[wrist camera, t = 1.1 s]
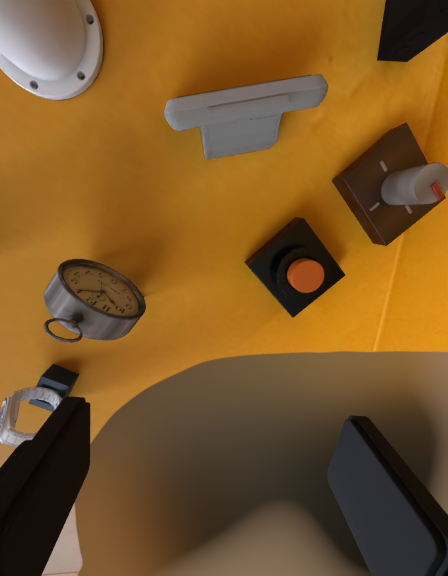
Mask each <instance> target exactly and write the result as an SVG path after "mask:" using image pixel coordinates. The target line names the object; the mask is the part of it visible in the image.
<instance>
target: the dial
mask: <svg viewBox="0 0 448 576" xmlns="http://www.w3.org/2000/svg"><path fill="white" fill-rule="evenodd" d="M447 189H448V169H447V168H446V167H445V166H444V165H443V164H440V163H431V164H426V165H422V166H417V167H412V168H408V169H403V170H399V171H395V172H393V173H391V174H389V175H388V176H387V177H386V179H385V180H384V182H383V184H382V187H381V196H382V198H383V200H384V201H385V202H386V203H387V204H389V205H416V204H431V203H434V202H436V201H438V200H441V199H442V198H444V196H443V195H444V194H445V193H446V191H447Z"/></svg>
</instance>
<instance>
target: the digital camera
mask: <svg viewBox="0 0 448 576" xmlns="http://www.w3.org/2000/svg"><path fill="white" fill-rule="evenodd" d="M447 32H448V0H386V3H385V10H384V17H383V24H382V31H381V38H380V44H379V51H378V58H377V60H382V61H401V62H407V61H409V60H410V59H412V58H413V57H414V56H416V55H417V54H419V53H420V52H421V51H423V50H424V49H425V48H427V47H428V46H430V45H431V44H432V43H434V42H435V41H436V40H438V39H439V38H441V37H442V36H443V35H445V34H446V33H447Z"/></svg>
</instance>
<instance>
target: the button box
mask: <svg viewBox="0 0 448 576" xmlns="http://www.w3.org/2000/svg"><path fill="white" fill-rule="evenodd" d="M299 258H308V259H311V260H313V261H316V262H318V263H319V264H320V265H321V266H322V268H323V270H324V279H323V282H322V284H321V285H320V287H319V288H317V289H316V290H315V291H312V292H309V293H303V292H300V291H298V290H296V289H295V288H294V287H293V286H292V285H290V283H289V282H288V279H287V270H288V268H289V266H290V265H291V263H292V262H294V261H295V260H297V259H299ZM245 264H246V265H247V266H248V267H249V268H250V269H251V271H252V272H253V273H254V274H255V275H256V276H257V277H258V279H259V280H260V281H261V282H262V283H263V284H264V285H265V287H266V288H267V289H268V290H269V291H270V292H271V293H272V295H273V296H274V297H275V298H276V299H277V300H278V301H279V303H280V304H281V305H282V306H283V307H284V308H285V309H286V311H287V312H288V313H289V314H290V315H291V316H292V317H295V316H296V315H297V314H298V313H299V312H301V311H302V310H303V309H304V308H306V307H307V306H308V305H309V304H311V303H312V302H313V301H314V300H316V299H317V298H318V297H319V296H320V295H322V294H323V293H324V292H325V291H327V290H328V289H329V288H330V287H332V286H333V285H334V284H335V283H336V282H338V281H339V280H340V279H341V278H343V277H344V276H345V274H344V272H343V271H342V270H341V268H340V267H339V266H338V264H337V263H336V262H335V260H334V259H333V258H332V256H331V255H330V253H329V252H328V251H327V249H326V248H325V247H324V245H323V244H322V243H321V241H320V240H319V239H318V237H317V236H316V234H315V233H314V232H313V230H312V229H311V228H310V226H309V225H308V224H307V222H306V221H305V220H304V218H294V219H293V220H292V221H291V222H290V223H289V224H287V225H286V226H285V227H284V228H283V229H282V230H281V231H279V232H278V233H277V234H276V235H275V236H274V237H273V238H272V239H270V240H269V241H268V242H267V243H266V244H265V245H264V246H262V247H261V248H260V249H259V250H258V251H257V252H256V253H254V254H253V255H252V256H251V257H250V258H249V259H248V260H246V261H245Z"/></svg>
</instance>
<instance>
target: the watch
mask: <svg viewBox="0 0 448 576" xmlns="http://www.w3.org/2000/svg"><path fill="white" fill-rule="evenodd" d="M78 376H79V374H77V373H74V372H72V371H69V370H67V369H64V368H62V367H59V366H57V365H54V364H53V365H52V366H51V367H50V368H49V369H48V370H47V371H46V372H45V373H44V374H43V375H42V376H41V378H40V380H39V382H38V384H37V386H36V387H29V388H24V389H21V390H19V391H15V392H14V393H13V394H12V395H11V397H6V398H5V400H4V402H3V404H2V407H1V410H0V441H1V443H2V444H6V445H8V446H10V445H11V447H15V448H17V447H18V446H19V445H20V444H21V443H22V442H24V441H25V440H32V439H33V438H34V436H35V435H36V434H37V433H34V434H32V433H23V432H19V431H18V432H17V431H16V430H14V429H13V428H15V423H16V420H17V416H18V412H19V405H20V401H23V400H29V399H30V401H29V404H32V405H35V406H38V407H41V408H44V409H46V410H49V411H52V412H53V411H54V410H55V409H56V408H57V406H58V405H59V404H60V402H61V401H62V400H63V399H64V398H65V397H66V396H69V394H70V392H71V390H72V388H73V386H74V384H75V382H76V380H77V378H78ZM24 434H25V435H24Z"/></svg>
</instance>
